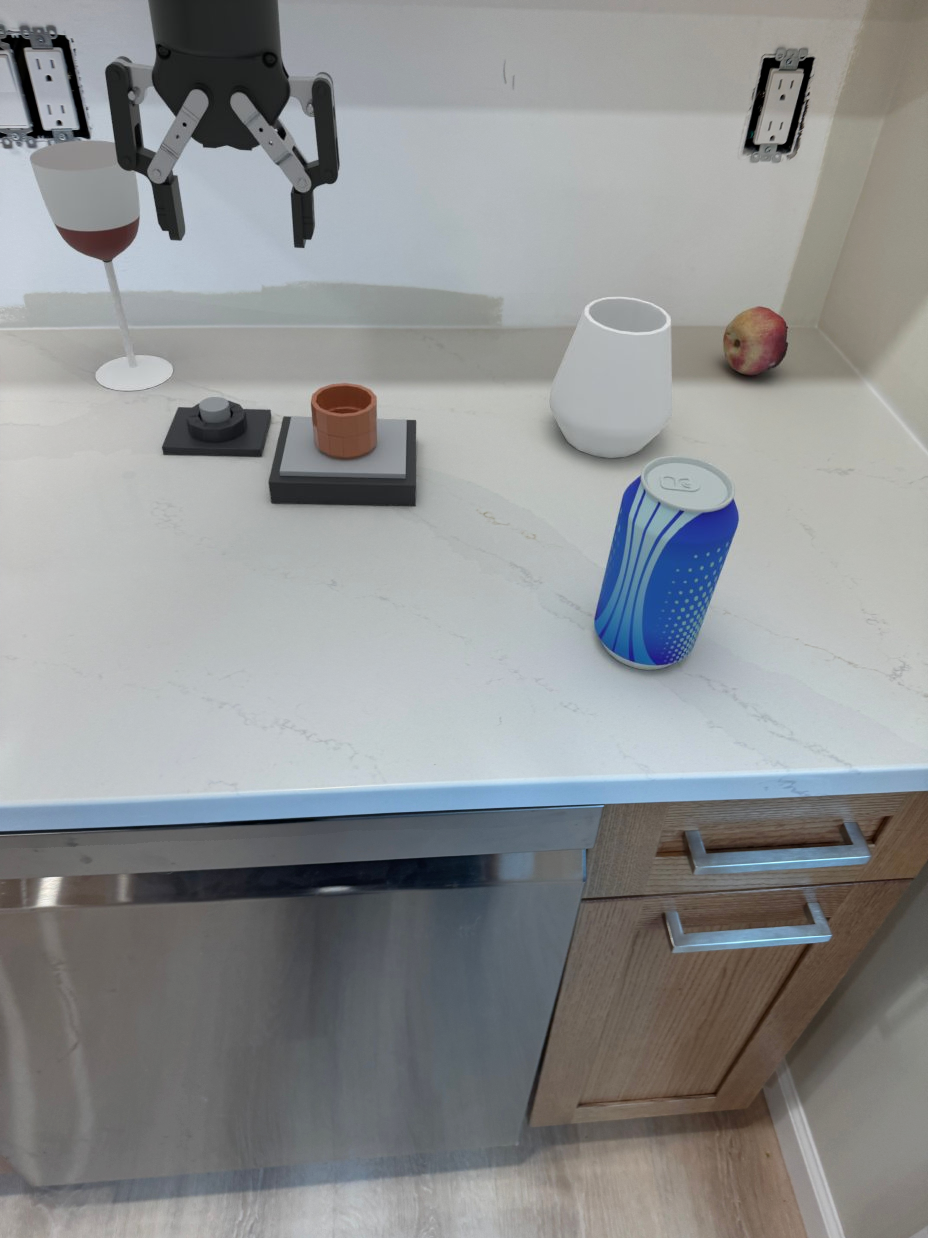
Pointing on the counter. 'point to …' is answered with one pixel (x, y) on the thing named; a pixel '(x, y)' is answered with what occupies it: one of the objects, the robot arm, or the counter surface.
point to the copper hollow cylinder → (344, 420)
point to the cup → (615, 378)
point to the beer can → (665, 561)
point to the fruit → (755, 341)
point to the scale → (345, 467)
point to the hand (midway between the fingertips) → (240, 240)
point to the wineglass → (98, 233)
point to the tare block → (218, 433)
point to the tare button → (214, 410)
